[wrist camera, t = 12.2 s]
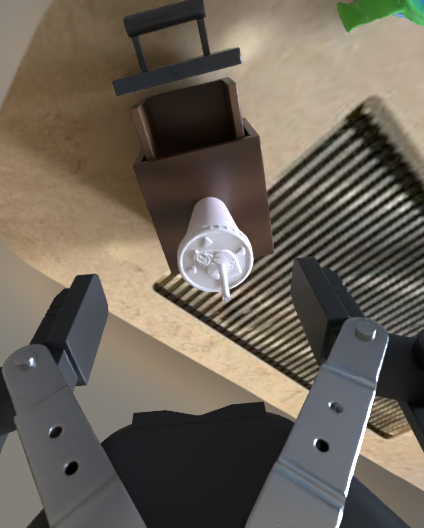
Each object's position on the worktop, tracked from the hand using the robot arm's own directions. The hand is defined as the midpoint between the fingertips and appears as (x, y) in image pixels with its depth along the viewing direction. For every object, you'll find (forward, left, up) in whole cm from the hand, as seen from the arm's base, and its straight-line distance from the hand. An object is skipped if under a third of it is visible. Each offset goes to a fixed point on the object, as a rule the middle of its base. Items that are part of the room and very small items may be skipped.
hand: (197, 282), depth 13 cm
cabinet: (+7, 0, -31) cm, 31 cm away
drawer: (-3, 0, -30) cm, 30 cm away
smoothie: (+7, 0, -21) cm, 22 cm away
